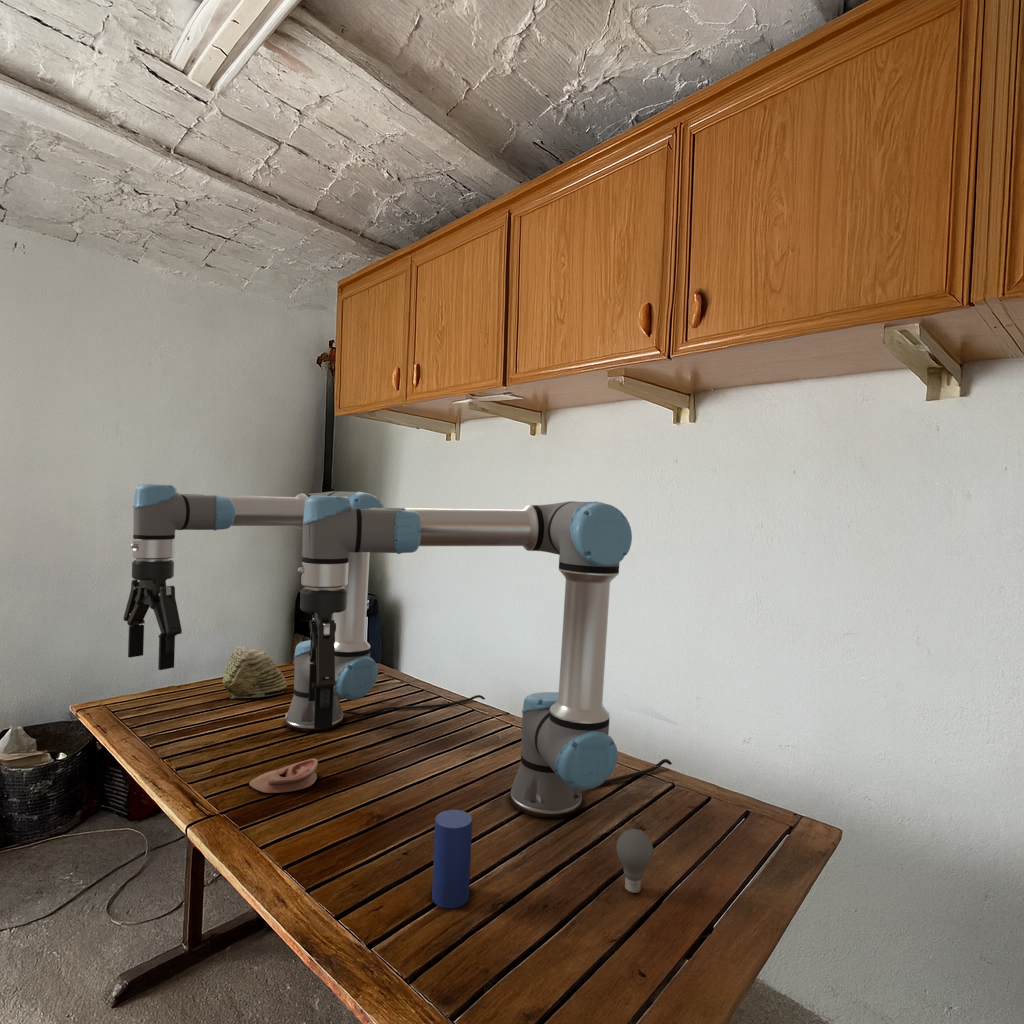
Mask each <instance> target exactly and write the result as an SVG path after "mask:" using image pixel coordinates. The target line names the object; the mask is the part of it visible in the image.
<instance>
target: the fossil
mask: <svg viewBox="0 0 1024 1024" xmlns="http://www.w3.org/2000/svg"><path fill="white" fill-rule="evenodd" d="M222 676H223V677H222V685H223V687H224V688H225V690H226V691H228V693H229V698H230V699H250V698H264V697H271V696H275V695H281V694H284V693H285V691H286V689H287V687H288V686H287V680H286V678H285V676H284V674H283V673H282V672H281V669H279V668H278V667H277V665H276V663H275V662H274V660H273V659H272V658H271V657H270V656H269V655H268V654H267V653H266V652H265V650H264V649H263V648H260V647H258V648H251V647H247V646H246V647H245V646H238V647H237V648H236V649H235V650H233V651H232V653H231V656H230V657H229V659H228V660H227V663H226V666H225V668H224V671H223V675H222Z"/></svg>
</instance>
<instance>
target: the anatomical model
mask: <svg viewBox="0 0 1024 1024" xmlns="http://www.w3.org/2000/svg"><path fill="white" fill-rule="evenodd" d="M318 764H319V761H318V759H317V758H309V759H305V760H302V761H299V762H296V763H293V764H290V765H289V764H288V765H287V766H284V767H281V768H279V769H274V770H271V771H268V772H265V773H263V774H260V775H258V776H256V777H254V778H252V779H251V780H250V781H249V783H248V784H249V785H248V786H250V787H251V788H253V789H254V790H256V791H258V792H261V793H264V794H279V793H289V792H295V791H298V790H303V789H306V788H309V787H311V786H312V785H313V784H315V782H316V781H317V778H318V775H317V773H316V770H317V768H318Z"/></svg>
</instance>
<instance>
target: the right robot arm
mask: <svg viewBox="0 0 1024 1024" xmlns="http://www.w3.org/2000/svg"><path fill="white" fill-rule="evenodd" d="M301 538H302V541H301V542H302V543H301V545H302V546H301V547H302V548H301V565H302V567H301V566H300V567H297V573H298V574H301V577H300V578H301V580H300V581H301V582H300V583H301V586H303V587H302V589H300V597H299V599H300V601H299V609H300V610H301V612H303V613H306V614H311V615H312V617H311V619H312V620H309V631H310V632H309V636H310V639H309V640H311V643H310V652H309V655H310V663H313V664H310V673H309V701H315V713H314V728H323V727H332V715H333V689H334V686H335V684H336V680H335V632H336V623H334V620H333V613H339V612H342V611H344V610H345V609H346V607H347V590H346V589H345V588H344V586H346V585H347V584H348V564H349V562H348V554H349V552H370V553H374V554H375V553H378V554H382V553H383V554H397V555H400V554H401V555H402V554H409V553H410V554H411V553H415V552H417V551H418V549H419V547H523V549H524V550H526V551H527V552H543V553H549V554H554V555H558V571H559V572H560V573H561V575H562V576H563V577H564V579H565V583H564V584H565V586H564V600H563V601H564V602H563V618H562V619H563V620H562V633H561V635H562V636H561V650H560V664H559V665H560V667H559V668H560V669H559V682H558V683H559V684H558V692H557V691H542V692H535V693H530V694H529V695H526V696H525V698H524V699H523V705H522V710H521V713H522V715H521V716H522V718H521V719H522V720H521V741H520V742H521V746H520V763H519V766H518V769H517V772H516V774H515V776H514V780H513V783H512V786H511V789H510V802H511V804H512V806H513V807H514V808H515V809H517V810H518V811H519V812H521V813H522V814H523V813H524V814H526V815H528V816H533V817H535V818H536V817H537V818H541V819H542V818H543V819H560V818H565V817H570V816H572V815H574V814H575V813H578V811H580V809H581V807H582V803H583V802H582V800H583V796H582V795H583V794H582V791H589V790H593V789H596V788H597V787H599V786H604V785H608V784H609V785H610V784H612V783H616V782H620V781H624V780H628V779H632V778H635V777H639V776H642V775H646V774H649V773H651V772H654V771H656V770H658V768H660V767H661V766H662V765H664V764H668V766H669V765H673V763H672V761H671V760H670V759H668V758H663V759H661V760H660V761H659V762H658V763H656V764H655V765H654V766H652V767H649V768H646V769H643V770H638V771H635V772H632V773H628V774H624V775H620V776H616V777H612V778H610V777H611V775H612V774H613V773H614V771H615V770H616V766H617V765H618V758H619V752H618V747H617V744H616V743H615V741H614V739H613V738H612V736H611V735H609V733H610V732H609V731H610V719H611V717H610V712H609V710H607V708H605V706H604V705H603V701H604V698H603V697H604V685H605V667H606V653H607V638H608V621H609V606H610V591H611V590H610V589H611V582H612V581H613V580H614V579H615V578H616V577H617V576H619V574H620V563H621V561H623V560H624V558H625V556H627V555H628V553H629V552H630V550H631V547H632V541H633V533H632V528H631V525H630V522H629V520H628V518H627V516H625V515H624V513H623V512H622V511H621V510H620V509H619V508H617V507H615V506H614V505H612V504H609V503H605V502H601V501H597V500H595V501H575V500H574V501H573V500H571V501H570V500H569V501H563V502H556V503H548V504H527V505H525V507H524V508H522V509H500V508H499V509H496V508H495V509H494V508H493V509H491V508H489V509H488V508H431V507H430V508H427V507H426V508H425V507H419V508H418V507H384V508H381V507H369V508H367V509H356V508H351V503H350V499H349V498H348V497H338V496H314V495H313V496H310V497H308V498H307V499H306V500H305V505H304V516H303V529H302V537H301ZM325 677H329V678H327V679H325ZM655 766H656V767H655ZM657 766H658V767H657Z"/></svg>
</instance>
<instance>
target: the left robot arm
mask: <svg viewBox="0 0 1024 1024" xmlns="http://www.w3.org/2000/svg"><path fill="white" fill-rule="evenodd" d="M313 495H314V496H338V497H348V498H349V499H350V503H351V508H356V509H367V508H369V507H381V508H385V507H384V504H383V503H382V501H381V500H380V499H379V498H378V497H377V496H375V495H374V494H371V493H367V492H363V491H337V490H336V491H335V490H334V491H325V492H314V493H298V494H297V495H296V496H269V495H266V496H265V495H238V494H237V495H235V494H233V495H232V494H203V493H202V494H197V493H179V492H178V491H177V487H176V486H175V485H173V484H155V483H154V484H153V483H152V484H151V483H141V484H138V485H137V486H136V487H135V489H134V494H133V504H132V508H133V511H132V512H133V514H132V515H133V520H132V521H133V523H132V524H133V526H132V528H133V531H132V532H133V533H132V543H131V544H130V549H132V558H133V559H135V560H133V561H132V562H131V578H132V580H131V583H130V584H131V585H130V592H129V596H128V599H127V603H126V607H125V610H124V615H123V621H124V622H126V624H127V626H128V640H127V641H128V643H127V657H128V658H136V657H142V656H144V642H145V625H144V624H146V621H145V617H146V615H147V613H148V611H149V608H150V609H151V610H153V612H154V616H155V618H156V621H157V625H158V628H159V631H160V633H159V634H158V663H157V665H158V667H157V669H158V671H164V670H168V669H174V668H175V651H176V649H175V648H176V637H177V636H178V635H181V634H182V633H183V632H182V631H183V630H182V625H181V619H180V614H179V609H178V604H177V600H176V587H175V585H167V580H170V579H172V578H174V576H175V561H174V560H173V558H174V557H175V556H176V555H175V551H176V531H217V530H219V531H220V530H227V529H229V528H231V527H255V526H256V527H259V526H260V527H290V526H291V527H292V526H294V527H295V528H296V529H297V530H303V516H304V505H305V500H306V499H307V498H308V497H310V496H313ZM370 554H371V552H349V554H348V562H349V564H348V584H347V585H346V586H344V588H345V589H346V590H347V607H346V609H345V610H344V611H342V612H339V613H333V614H332V620H334V623H336V632H335V680H336V684H335V686H334V689H333V715H332V727H323V728H314V713H315V701H309V673H310V664H313V663H310V655H309V652H310V643H311V639H308V640H304V641H300V642H299V643H297V644H296V646H295V650H294V655H293V657H294V672H293V673H294V674H293V695H292V696H293V697H292V699H291V702H290V704H289V708H288V711H287V712H285V726H286V728H287V729H289V730H291V731H294V732H295V731H296V732H301V733H316V732H325V731H329V730H332V729H335V728H337V727H339V726H340V725H342V723H343V722H344V714H346V715H354V716H369V715H372V714H373V715H374V714H376V713H379V712H383V711H391V710H413V709H415V710H416V709H432V708H440V707H441V708H442V707H447V706H453V705H458V704H462V703H467V702H471V701H472V700H475V699H478V698H479V699H481V700H486V698H485V697H484V696H483V695H480V694H476V695H474V696H471V697H468V698H464V699H460V700H456V701H452V702H451V701H450V702H446V703H439V704H426V705H425V704H423V705H400V706H399V705H397V706H387V707H381V708H377V709H374V710H371V711H365V712H357V711H353V710H343V709H342V706H341V702H340V699H341V700H347V701H357V700H360V699H362V698H364V697H365V696H367V695H368V694H369V692H370V691H371V690H372V689H373V688H374V686H375V684H376V682H377V679H378V675H379V667H378V664H377V663H376V661H375V660H374V659H373V658H372V657H371V644H370V643H369V642H368V641H367V640H366V631H367V629H366V628H367V612H368V611H367V609H368V591H369V572H370V556H371V555H370ZM327 678H329V677H325V679H327Z"/></svg>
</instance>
